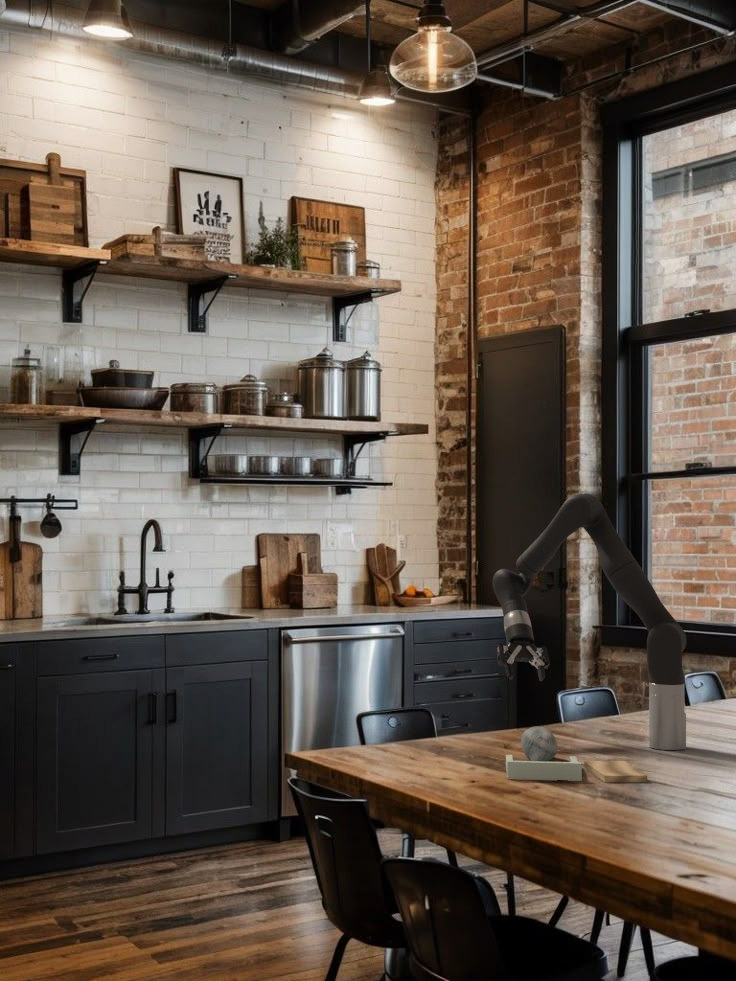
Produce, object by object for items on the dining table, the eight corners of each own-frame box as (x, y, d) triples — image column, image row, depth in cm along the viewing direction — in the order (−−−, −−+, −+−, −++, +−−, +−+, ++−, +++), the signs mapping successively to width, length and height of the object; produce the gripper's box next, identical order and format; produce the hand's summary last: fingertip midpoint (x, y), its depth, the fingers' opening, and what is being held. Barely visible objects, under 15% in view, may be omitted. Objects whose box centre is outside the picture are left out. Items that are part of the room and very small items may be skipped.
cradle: (575, 766, 295) (575, 750, 296) (581, 781, 278) (581, 763, 278) (505, 764, 297) (505, 748, 297) (507, 779, 280) (507, 761, 280)
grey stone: (516, 741, 312) (533, 709, 310) (549, 758, 311) (567, 727, 308) (509, 763, 300) (527, 730, 297) (543, 781, 298) (562, 749, 295)
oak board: (624, 767, 296) (624, 760, 296) (647, 782, 278) (647, 775, 278) (584, 767, 295) (584, 761, 295) (604, 782, 277) (604, 775, 277)
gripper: (497, 620, 335) (505, 669, 324) (546, 623, 338) (555, 672, 327) (490, 636, 340) (498, 684, 330) (538, 639, 343) (547, 687, 332)
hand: (526, 678), depth 328 cm, fingers open, 8 cm apart
